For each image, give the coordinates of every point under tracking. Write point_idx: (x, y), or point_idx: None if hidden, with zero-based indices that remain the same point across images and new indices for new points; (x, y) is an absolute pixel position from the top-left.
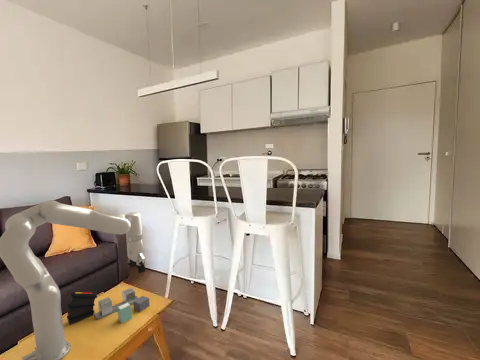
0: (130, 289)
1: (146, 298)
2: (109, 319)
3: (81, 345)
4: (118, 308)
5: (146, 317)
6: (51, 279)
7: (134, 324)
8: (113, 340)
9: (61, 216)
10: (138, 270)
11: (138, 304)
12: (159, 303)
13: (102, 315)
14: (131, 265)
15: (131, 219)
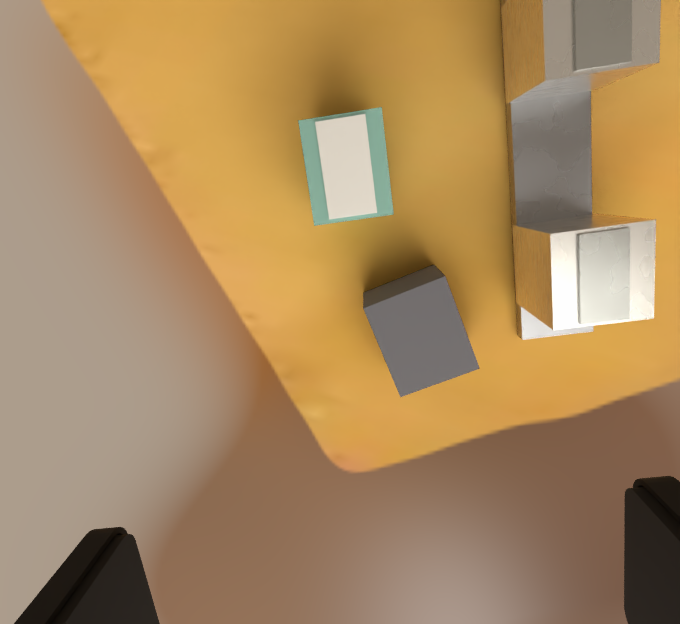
0: (611, 303)
1: (409, 379)
2: (430, 62)
3: None
4: (351, 112)
5: (266, 306)
6: None
7: (240, 213)
8: (150, 37)
9: None
10: (50, 588)
11: (379, 299)
12: (371, 433)
13: (502, 7)
14: (653, 532)
15: None
